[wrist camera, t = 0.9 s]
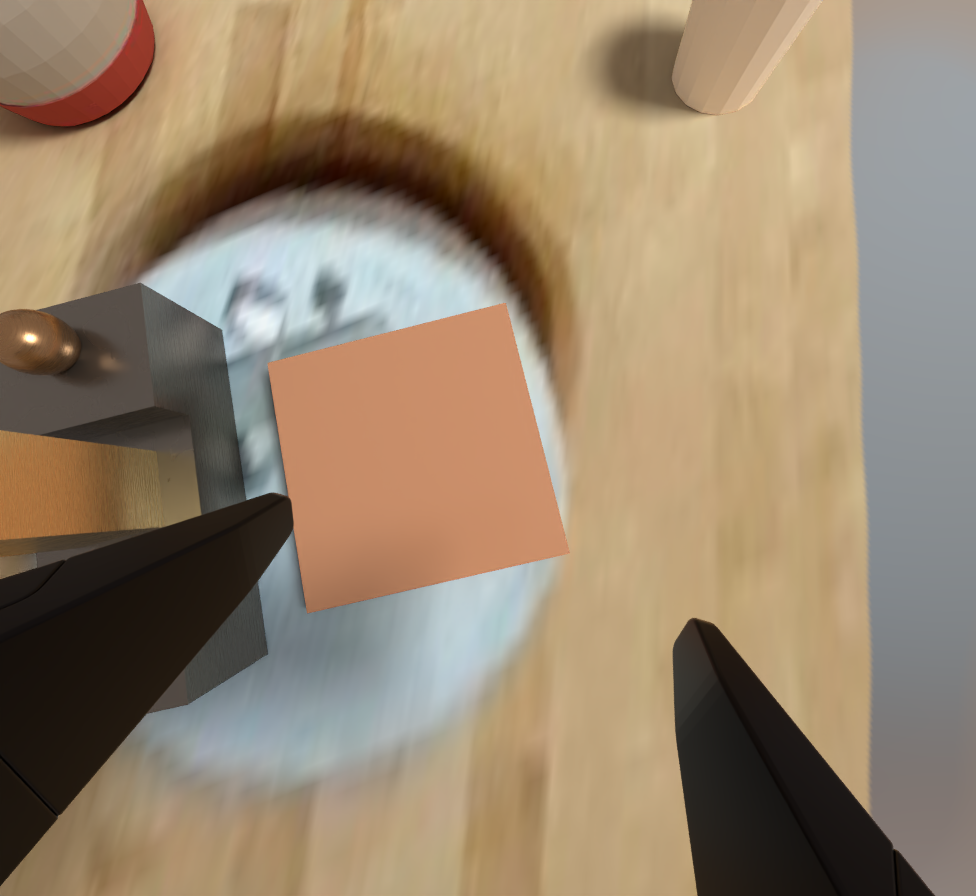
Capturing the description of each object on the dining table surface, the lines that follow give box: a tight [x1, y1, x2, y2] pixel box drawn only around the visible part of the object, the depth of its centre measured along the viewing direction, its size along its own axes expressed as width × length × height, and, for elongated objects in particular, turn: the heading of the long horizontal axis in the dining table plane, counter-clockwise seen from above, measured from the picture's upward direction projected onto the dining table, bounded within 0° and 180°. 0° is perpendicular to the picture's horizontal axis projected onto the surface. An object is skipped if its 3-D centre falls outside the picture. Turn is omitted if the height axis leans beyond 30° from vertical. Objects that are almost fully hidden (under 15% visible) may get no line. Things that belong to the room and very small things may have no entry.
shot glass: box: [672, 0, 823, 115], centre depth 22 cm, size 7×7×7 cm
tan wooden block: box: [0, 430, 165, 557], centre depth 16 cm, size 4×5×8 cm
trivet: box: [268, 303, 570, 613], centre depth 22 cm, size 14×14×2 cm
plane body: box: [0, 283, 268, 714], centre depth 20 cm, size 20×9×8 cm, turn 13°
